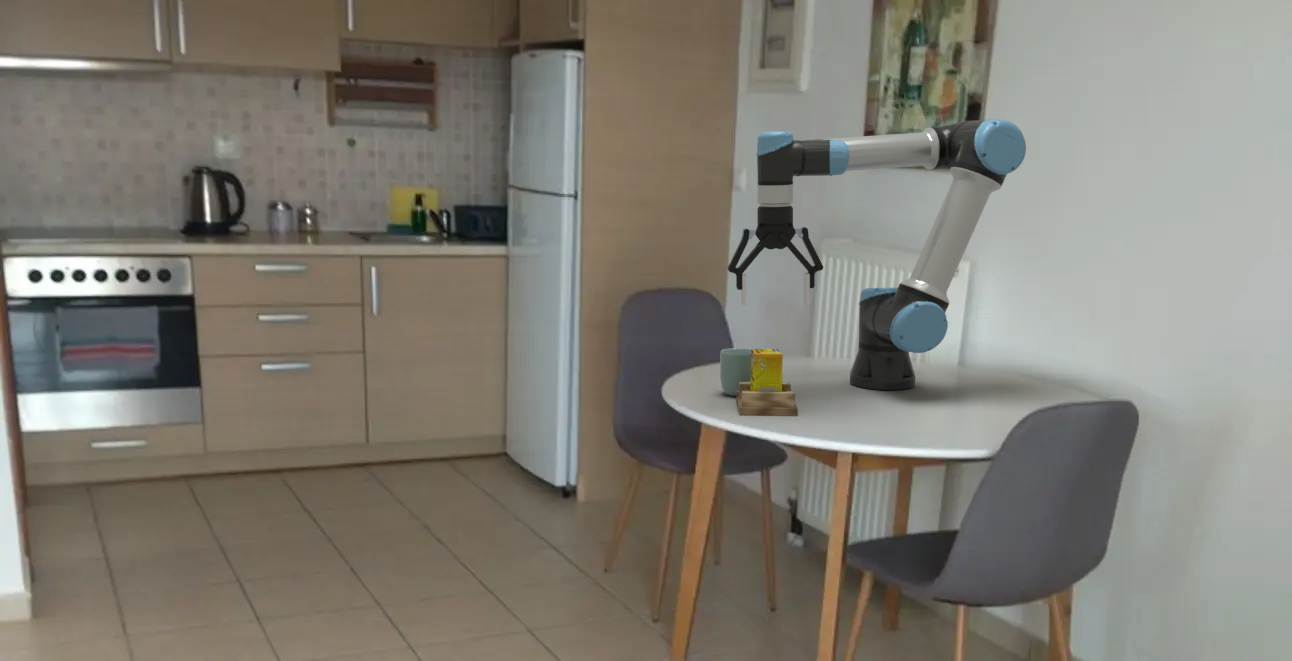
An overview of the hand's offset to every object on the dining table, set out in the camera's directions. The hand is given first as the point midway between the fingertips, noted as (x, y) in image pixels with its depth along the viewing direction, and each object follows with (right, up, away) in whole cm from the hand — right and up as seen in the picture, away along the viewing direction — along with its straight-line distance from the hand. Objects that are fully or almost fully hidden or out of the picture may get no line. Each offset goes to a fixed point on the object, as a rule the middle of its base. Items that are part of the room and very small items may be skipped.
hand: (775, 304), depth 234 cm
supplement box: (-2, -21, -2) cm, 21 cm away
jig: (-2, -22, -2) cm, 23 cm away
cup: (-7, -20, +11) cm, 24 cm away
